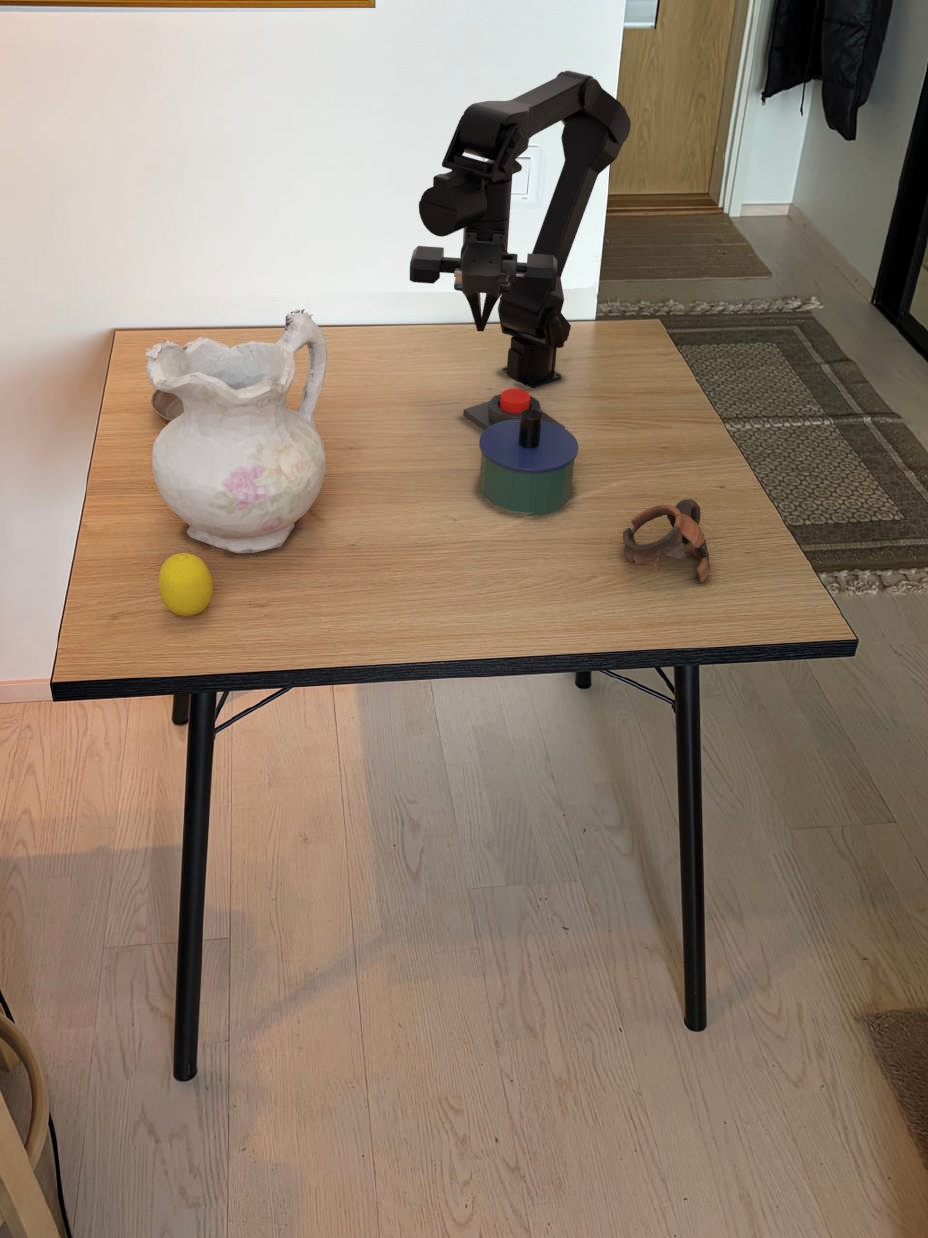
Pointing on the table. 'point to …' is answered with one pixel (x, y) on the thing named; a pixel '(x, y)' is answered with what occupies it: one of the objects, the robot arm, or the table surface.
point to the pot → (526, 488)
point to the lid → (528, 444)
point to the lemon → (185, 584)
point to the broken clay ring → (669, 536)
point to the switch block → (500, 413)
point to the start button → (514, 400)
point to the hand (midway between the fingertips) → (480, 330)
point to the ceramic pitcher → (240, 436)
